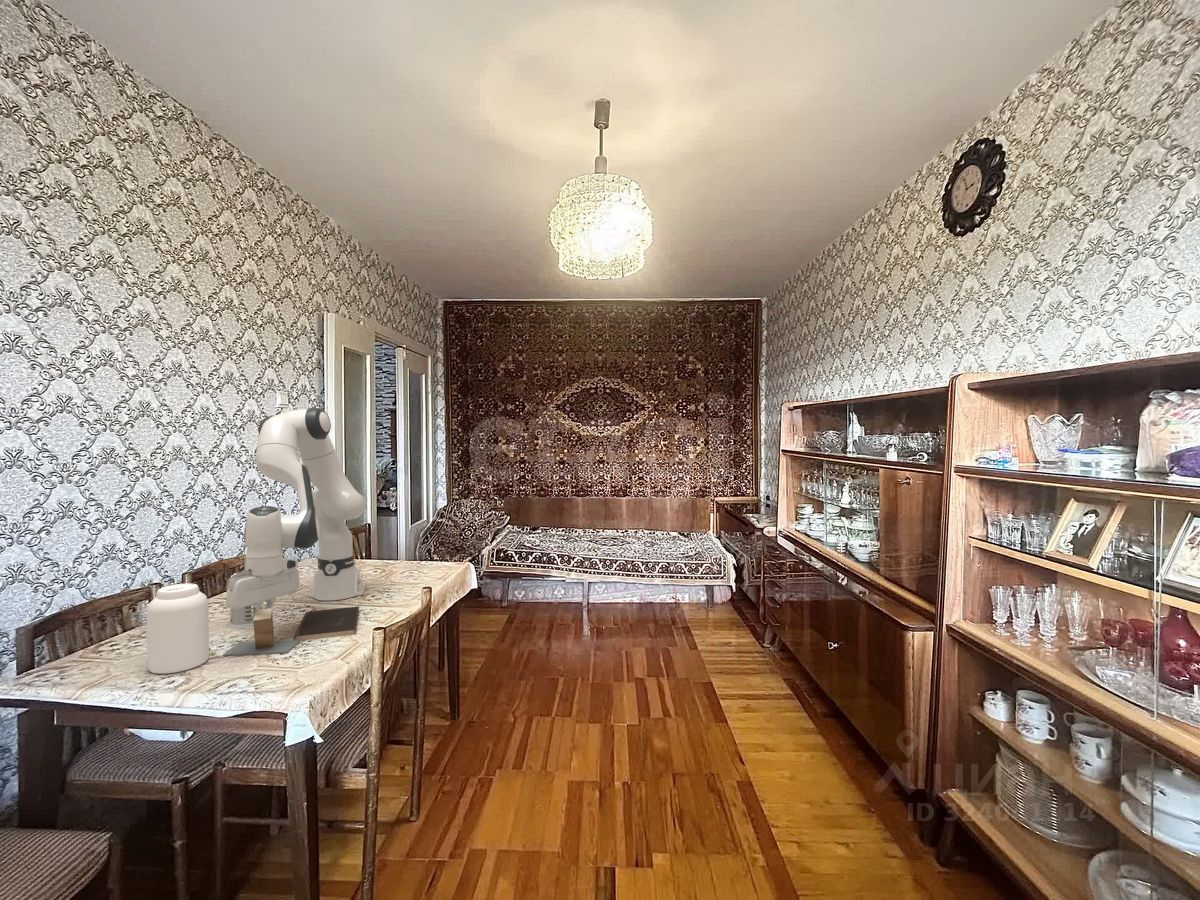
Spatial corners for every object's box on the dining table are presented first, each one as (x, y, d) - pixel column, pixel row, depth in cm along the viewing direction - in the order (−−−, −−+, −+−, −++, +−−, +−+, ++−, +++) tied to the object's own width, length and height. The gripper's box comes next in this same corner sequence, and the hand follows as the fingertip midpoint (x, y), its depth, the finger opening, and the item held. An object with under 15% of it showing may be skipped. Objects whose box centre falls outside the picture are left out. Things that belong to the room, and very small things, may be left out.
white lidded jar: (137, 677, 135) (135, 595, 134) (161, 658, 147) (160, 582, 146) (197, 671, 138) (196, 591, 138) (216, 653, 150) (215, 578, 150)
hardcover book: (359, 613, 186) (358, 606, 186) (355, 636, 164) (355, 628, 164) (304, 618, 180) (304, 611, 180) (293, 643, 159) (293, 635, 159)
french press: (218, 628, 169) (217, 546, 169) (242, 616, 181) (241, 539, 180) (252, 628, 170) (251, 545, 169) (273, 616, 181) (272, 538, 181)
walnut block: (257, 638, 155) (254, 609, 151) (273, 636, 157) (272, 608, 153) (255, 649, 152) (253, 619, 148) (272, 646, 154) (270, 617, 150)
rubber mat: (239, 643, 157) (239, 642, 157) (300, 641, 159) (300, 639, 159) (222, 656, 148) (222, 654, 148) (287, 653, 150) (287, 651, 150)
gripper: (237, 575, 144) (237, 629, 144) (303, 559, 163) (303, 607, 163) (219, 573, 146) (219, 626, 146) (286, 558, 165) (286, 604, 165)
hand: (264, 616), depth 155 cm, fingers closed
